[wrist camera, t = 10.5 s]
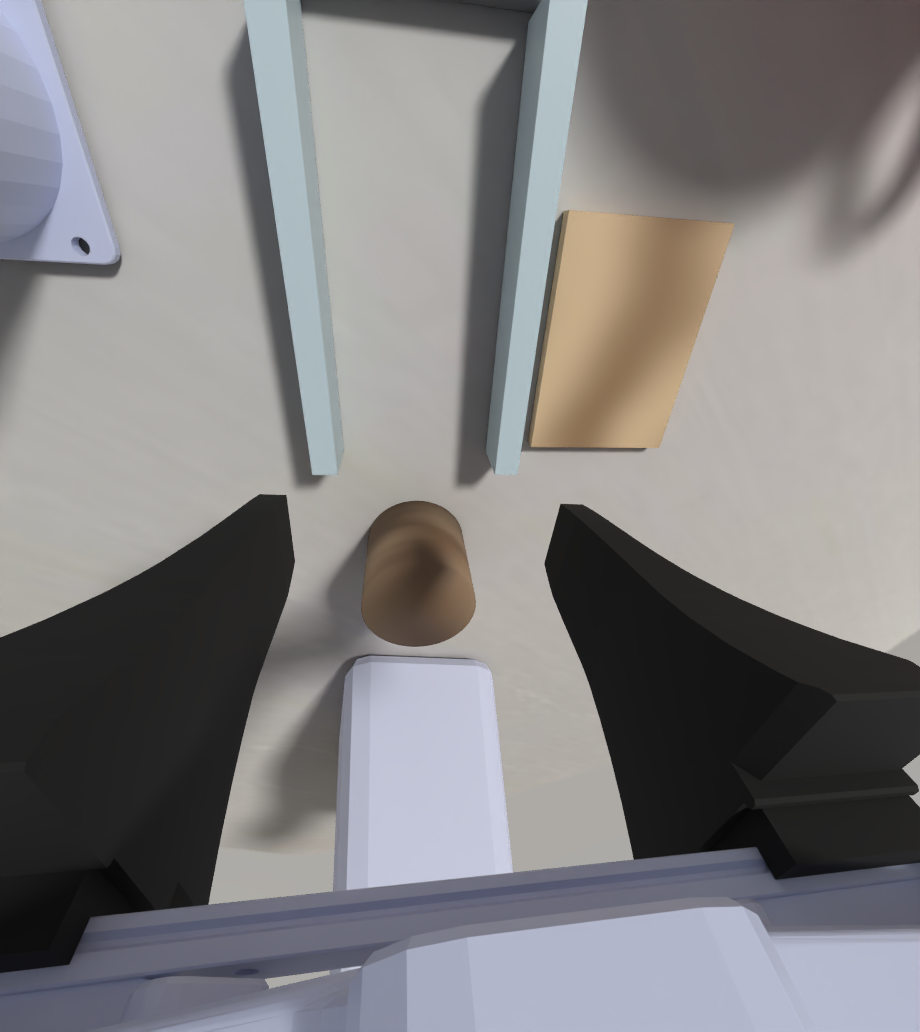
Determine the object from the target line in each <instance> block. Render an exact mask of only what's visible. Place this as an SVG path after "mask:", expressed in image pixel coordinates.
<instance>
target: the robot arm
mask: <svg viewBox="0 0 920 1032" xmlns="http://www.w3.org/2000/svg"><path fill="white" fill-rule="evenodd" d="M80 238H83V239H84V240H85V241H86V242H87V243H88V245H89V247H90V253H89V254H86V253H85V252H83V251H82V250H81V248H80V246H79V239H80ZM120 255H121V254H120V247H119V244H118V241H117V238H116V235H115V232H114V228H113V225H112V222H111V219H110V216H109V213H108V209H107V206H106V203H105V200H104V197H103V194H102V191H101V187H100V184H99V181H98V178H97V175H96V172H95V169H94V165H93V162H92V159H91V156H90V153H89V150H88V146H87V143H86V140H85V137H84V134H83V131H82V128H81V124H80V121H79V118H78V115H77V112H76V109H75V106H74V102H73V99H72V96H71V93H70V90H69V87H68V83H67V80H66V77H65V74H64V71H63V68H62V65H61V61H60V58H59V55H58V52H57V49H56V46H55V43H54V39H53V36H52V33H51V30H50V27H49V24H48V20H47V17H46V14H45V11H44V8H43V5H42V2H41V0H0V259H8V260H26V261H44V262H62V263H80V264H98V265H108V264H114V263H116V262H117V261H118V260H119V258H120ZM294 563H295V558H294V551H293V543H292V535H291V528H290V520H289V512H288V505H287V497H286V495H263V494H260V495H258V496H256V497H255V498H253V499H252V500H250V501H249V502H248V503H246V504H245V505H244V506H242V507H241V508H239V509H238V510H237V511H235V512H234V513H233V514H231V515H230V516H229V517H227V518H226V519H224V520H223V521H222V522H220V523H219V524H217V525H216V526H215V527H213V528H212V529H210V530H209V531H207V532H206V533H205V534H203V535H202V536H200V537H199V538H197V539H196V540H194V541H193V542H191V543H190V544H188V545H186V546H185V547H183V548H182V549H180V550H179V551H177V552H176V553H174V554H172V555H171V556H169V557H168V558H166V559H165V560H163V561H161V562H160V563H158V564H156V565H155V566H153V567H151V568H150V569H148V570H146V571H144V572H142V573H141V574H139V575H137V576H135V577H133V578H131V579H130V580H128V581H126V582H124V583H122V584H120V585H118V586H116V587H114V588H112V589H110V590H108V591H106V592H104V593H102V594H100V595H98V596H96V597H94V598H92V599H89V600H87V601H85V602H83V603H81V604H78V605H76V606H74V607H72V608H70V609H67V610H65V611H63V612H61V613H59V614H56V615H54V616H52V617H50V618H48V619H45V620H43V621H41V622H38V623H36V624H33V625H31V626H28V627H26V628H23V629H21V630H18V631H16V632H13V633H11V634H8V635H6V636H3V637H1V638H0V1032H920V807H919V806H918V805H917V804H916V803H915V802H914V801H913V799H912V798H911V797H910V796H909V795H914V794H916V793H917V792H918V791H919V789H918V785H917V784H916V783H915V782H914V781H913V780H912V779H911V778H910V777H909V776H908V774H907V773H905V771H904V770H903V769H902V768H903V767H904V766H906V765H907V764H908V763H909V762H910V761H912V760H913V759H914V758H916V757H917V756H918V755H919V754H920V667H919V666H917V665H916V664H914V663H913V662H911V661H909V660H906V659H903V658H900V657H897V656H893V655H890V654H887V653H884V652H881V651H877V650H874V649H871V648H868V647H865V646H861V645H858V644H855V643H852V642H849V641H845V640H842V639H839V638H836V637H834V636H831V635H828V634H825V633H823V632H820V631H817V630H814V629H812V628H809V627H806V626H804V625H801V624H798V623H796V622H793V621H791V620H788V619H786V618H783V617H780V616H778V615H775V614H773V613H771V612H768V611H766V610H764V609H762V608H759V607H757V606H755V605H753V604H750V603H748V602H746V601H743V600H741V599H739V598H737V597H735V596H733V595H731V594H729V593H726V592H724V591H722V590H721V589H719V588H717V587H715V586H713V585H711V584H709V583H707V582H705V581H703V580H701V579H699V578H697V577H696V576H694V575H692V574H690V573H689V572H687V571H685V570H683V569H682V568H680V567H678V566H677V565H675V564H673V563H672V562H670V561H668V560H667V559H665V558H663V557H662V556H660V555H659V554H657V553H655V552H654V551H652V550H651V549H649V548H648V547H646V546H645V545H643V544H642V543H640V542H639V541H637V540H636V539H634V538H633V537H631V536H630V535H628V534H627V533H625V532H624V531H623V530H621V529H620V528H618V527H617V526H615V525H614V524H612V523H611V522H609V521H608V520H606V519H605V518H604V517H602V516H601V515H599V514H597V513H596V512H594V511H593V510H591V509H589V508H588V507H586V506H584V505H578V504H561V505H560V508H559V512H558V516H557V519H556V523H555V527H554V530H553V534H552V538H551V541H550V545H549V549H548V552H547V556H546V560H545V563H544V564H545V568H546V572H547V576H548V581H549V584H550V588H551V591H552V595H553V598H554V600H555V603H556V605H557V607H558V610H559V612H560V615H561V617H562V619H563V622H564V624H565V626H566V629H567V631H568V633H569V636H570V638H571V640H572V643H573V645H574V647H575V650H576V652H577V654H578V657H579V659H580V661H581V663H582V666H583V668H584V671H585V674H586V676H587V679H588V682H589V685H590V688H591V691H592V695H593V698H594V701H595V704H596V708H597V711H598V714H599V717H600V721H601V724H602V728H603V732H604V735H605V739H606V742H607V746H608V750H609V753H610V757H611V761H612V765H613V768H614V772H615V777H616V781H617V785H618V789H619V793H620V798H621V802H622V806H623V811H624V815H625V820H626V825H627V829H628V834H629V838H630V843H631V848H632V852H633V858H634V860H627V861H617V862H608V863H600V864H589V865H580V866H570V867H561V868H552V869H542V870H532V871H523V872H514V873H504V874H494V875H485V876H476V877H466V878H457V879H447V880H438V881H428V882H419V883H409V884H400V885H390V886H381V887H372V888H362V889H353V890H343V891H334V892H325V893H316V894H306V895H296V896H287V897H277V898H269V899H258V900H249V901H239V902H230V903H220V904H211V905H208V903H209V897H210V892H211V887H212V881H213V876H214V871H215V865H216V860H217V854H218V849H219V844H220V839H221V834H222V829H223V824H224V819H225V814H226V810H227V805H228V800H229V795H230V790H231V786H232V781H233V776H234V772H235V768H236V763H237V759H238V755H239V750H240V746H241V741H242V737H243V733H244V729H245V725H246V721H247V717H248V713H249V709H250V705H251V700H252V696H253V693H254V690H255V686H256V683H257V680H258V677H259V674H260V671H261V669H262V666H263V663H264V660H265V658H266V655H267V652H268V649H269V647H270V644H271V641H272V638H273V636H274V633H275V630H276V628H277V625H278V622H279V619H280V616H281V614H282V611H283V608H284V605H285V602H286V599H287V597H288V592H289V588H290V583H291V579H292V573H293V568H294ZM357 966H361V968H357V969H353V970H349V971H344V972H340V973H336V974H331V975H327V976H323V977H318V978H314V979H310V980H305V981H301V982H297V983H292V984H288V985H284V986H280V987H275V988H271V989H269V986H268V985H267V983H266V981H265V980H264V979H267V978H274V977H281V976H289V975H296V974H304V973H312V972H319V971H327V970H334V969H342V968H349V967H357Z"/></svg>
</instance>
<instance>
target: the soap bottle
mask: <svg viewBox="0 0 920 1032" xmlns="http://www.w3.org/2000/svg"><path fill="white" fill-rule="evenodd" d="M512 868H513V867H512V857H511V848H510V839H509V829H508V819H507V810H506V800H505V791H504V781H503V772H502V762H501V753H500V743H499V734H498V724H497V715H496V705H495V696H494V686H493V679H492V675H491V671H490V669H489V668H488V667H487V665H486V664H485V663H482V662H479V661H476V660H472V659H447V658H421V657H395V656H367V657H363V658H359V659H357V660H356V662H355V663H354V665H353V667H352V668H351V669H350V671H349V672H348V673H347V675H346V676H345V683H344V693H343V704H342V714H341V725H340V735H339V757H338V782H337V806H336V831H335V855H334V880H333V881H334V882H333V892H334V891H343V890H353V889H362V888H372V887H381V886H390V885H400V884H409V883H419V882H428V881H438V880H447V879H457V878H466V877H476V876H485V875H494V874H504V873H513V869H512ZM357 968H361V966H357V967H349V968H342V969H334V970H330V975H331V974H336V973H340V972H344V971H349V970H353V969H357Z"/></svg>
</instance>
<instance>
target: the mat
mask: <svg viewBox="0 0 920 1032" xmlns="http://www.w3.org/2000/svg"><path fill="white" fill-rule="evenodd" d="M734 225H735V224H733V223H721V222H708V221H696V220H684V219H671V218H659V217H646V216H634V215H622V214H609V213H597V212H585V211H572V210H567V211H564V213H563V220H562V226H561V233H560V239H559V245H558V252H557V258H556V265H555V271H554V278H553V284H552V290H551V297H550V303H549V310H548V316H547V322H546V329H545V335H544V342H543V348H542V355H541V361H540V367H539V374H538V380H537V387H536V393H535V400H534V406H533V412H532V419H531V425H530V432H529V438H528V443H529V444H530V446H531V447H603V448H659V447H660V444H661V441H662V438H663V435H664V432H665V429H666V426H667V423H668V420H669V417H670V414H671V411H672V408H673V405H674V402H675V399H676V397H677V394H678V391H679V388H680V385H681V382H682V379H683V376H684V373H685V370H686V367H687V364H688V361H689V358H690V355H691V352H692V349H693V346H694V343H695V340H696V337H697V334H698V331H699V328H700V325H701V322H702V320H703V317H704V314H705V311H706V308H707V305H708V302H709V299H710V296H711V293H712V290H713V287H714V284H715V281H716V278H717V275H718V272H719V269H720V266H721V263H722V260H723V257H724V254H725V251H726V248H727V245H728V243H729V240H730V237H731V234H732V231H733V228H734Z"/></svg>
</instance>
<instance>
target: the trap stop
mask: <svg viewBox="0 0 920 1032" xmlns="http://www.w3.org/2000/svg"><path fill="white" fill-rule="evenodd" d="M447 1H454V2H461V3H468V4H475V5H482V6H489V7H496V8H503V9H510V10H517V11H524V12H532V13H534V12H535V10H536V9H537V7H538V5H539V4H540V2H541V0H447Z"/></svg>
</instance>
